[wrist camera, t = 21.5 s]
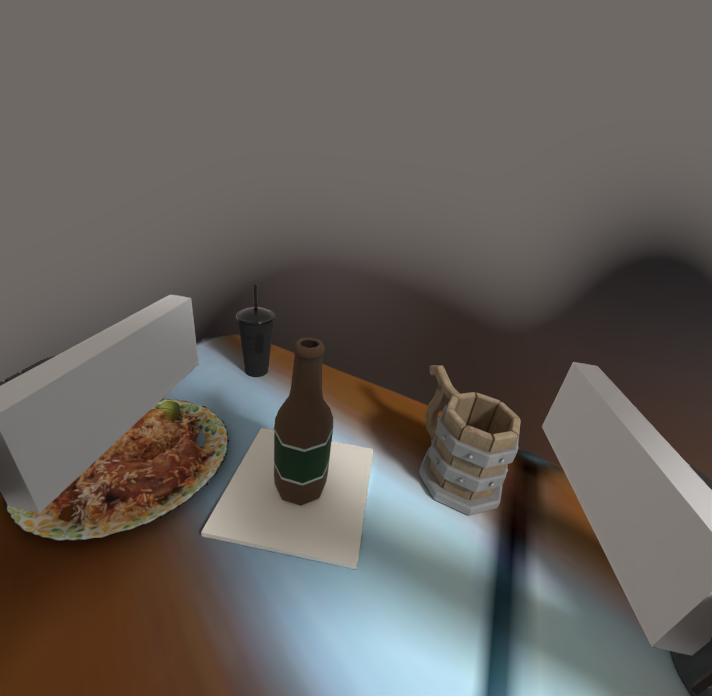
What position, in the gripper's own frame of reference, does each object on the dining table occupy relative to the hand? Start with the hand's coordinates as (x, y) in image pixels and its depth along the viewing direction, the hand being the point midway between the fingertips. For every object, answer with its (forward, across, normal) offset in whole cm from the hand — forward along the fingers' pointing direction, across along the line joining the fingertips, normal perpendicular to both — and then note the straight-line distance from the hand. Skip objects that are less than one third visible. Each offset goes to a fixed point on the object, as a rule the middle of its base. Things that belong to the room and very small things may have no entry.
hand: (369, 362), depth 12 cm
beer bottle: (+25, -8, -37) cm, 45 cm away
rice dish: (+24, -34, -39) cm, 57 cm away
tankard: (+36, +15, -38) cm, 54 cm away
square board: (+25, -8, -38) cm, 46 cm away
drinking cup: (+53, -26, -38) cm, 70 cm away
